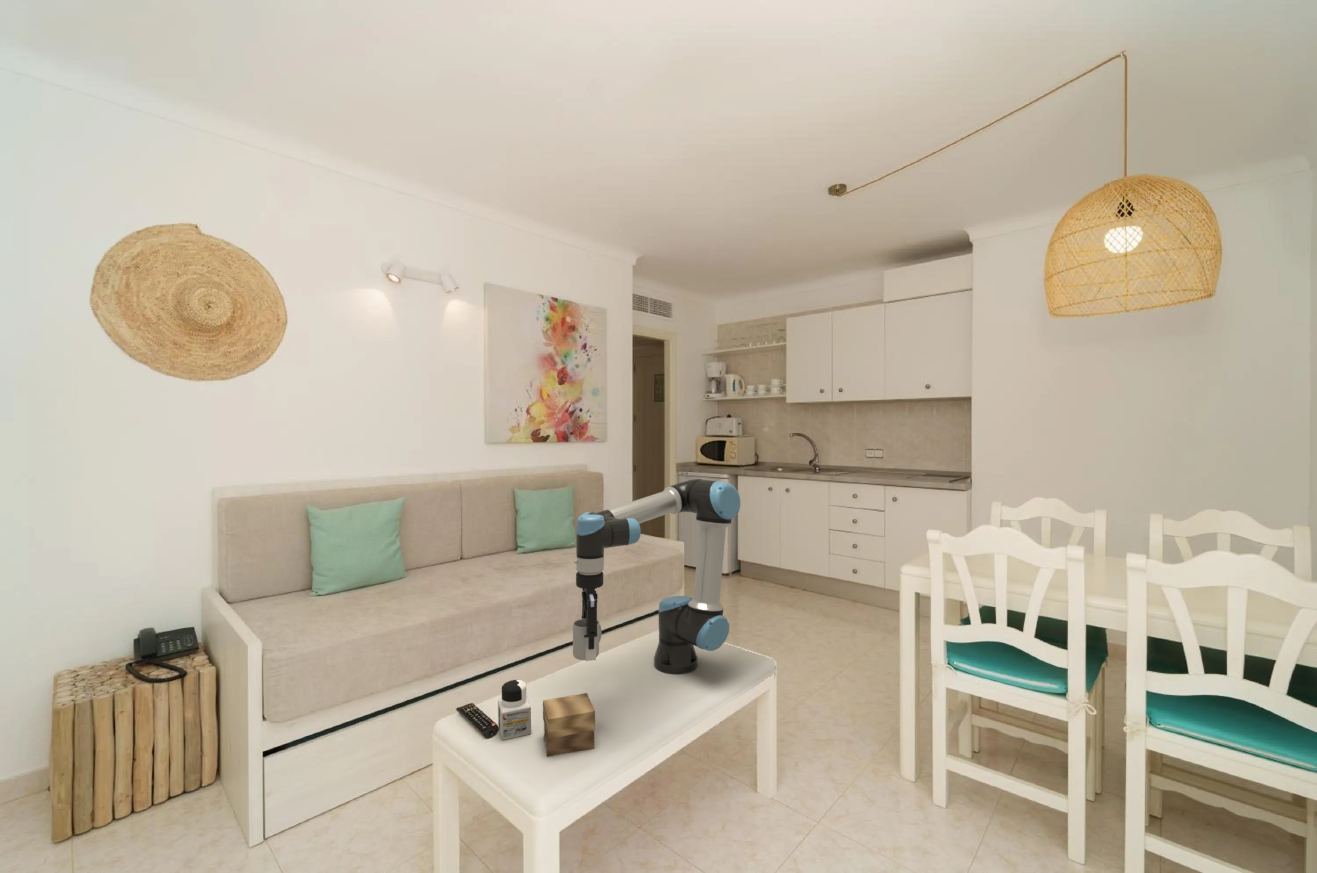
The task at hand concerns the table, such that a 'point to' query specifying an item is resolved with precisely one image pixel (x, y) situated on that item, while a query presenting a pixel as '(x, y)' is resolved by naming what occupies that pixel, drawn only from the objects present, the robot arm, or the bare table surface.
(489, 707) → the table surface
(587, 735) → the slab lower
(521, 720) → the container
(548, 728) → the slab upper
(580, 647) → the cup
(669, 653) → the robot arm
